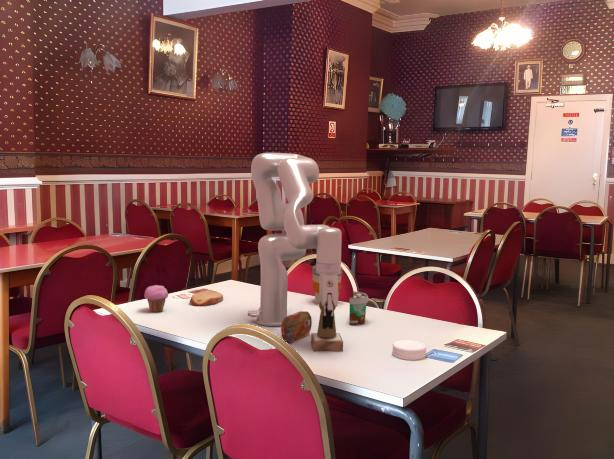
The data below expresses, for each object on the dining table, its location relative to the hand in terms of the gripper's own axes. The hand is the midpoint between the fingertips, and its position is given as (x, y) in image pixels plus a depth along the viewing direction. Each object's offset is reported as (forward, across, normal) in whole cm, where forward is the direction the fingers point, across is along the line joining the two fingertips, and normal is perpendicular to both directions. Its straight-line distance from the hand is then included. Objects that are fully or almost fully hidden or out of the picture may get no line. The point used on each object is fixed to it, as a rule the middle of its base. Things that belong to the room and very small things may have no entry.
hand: (326, 325), depth 182 cm
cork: (+3, 0, 0) cm, 3 cm away
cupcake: (+7, +45, +60) cm, 75 cm away
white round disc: (+7, -8, -24) cm, 26 cm away
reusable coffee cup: (+7, +58, -6) cm, 59 cm away
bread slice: (+8, +63, +43) cm, 77 cm away
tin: (+7, +9, +9) cm, 14 cm away
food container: (+7, +29, -15) cm, 33 cm away
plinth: (+7, 0, 0) cm, 7 cm away
